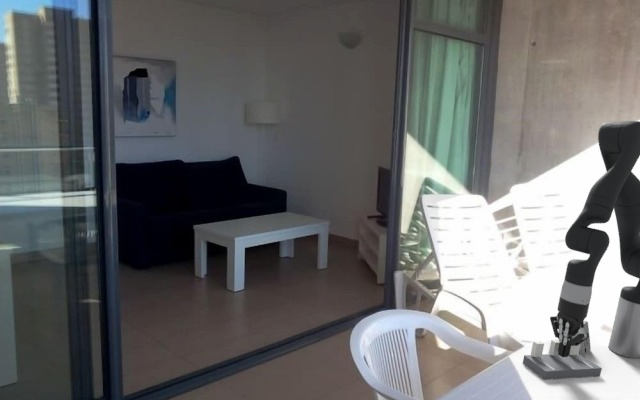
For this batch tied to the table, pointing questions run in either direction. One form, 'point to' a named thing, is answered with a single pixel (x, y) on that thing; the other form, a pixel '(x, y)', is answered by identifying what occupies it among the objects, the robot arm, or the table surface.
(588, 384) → the table surface
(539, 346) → the outer knob
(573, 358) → the block
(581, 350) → the electrical switch
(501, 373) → the table surface
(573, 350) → the inner knob
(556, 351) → the knob
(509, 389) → the table surface
